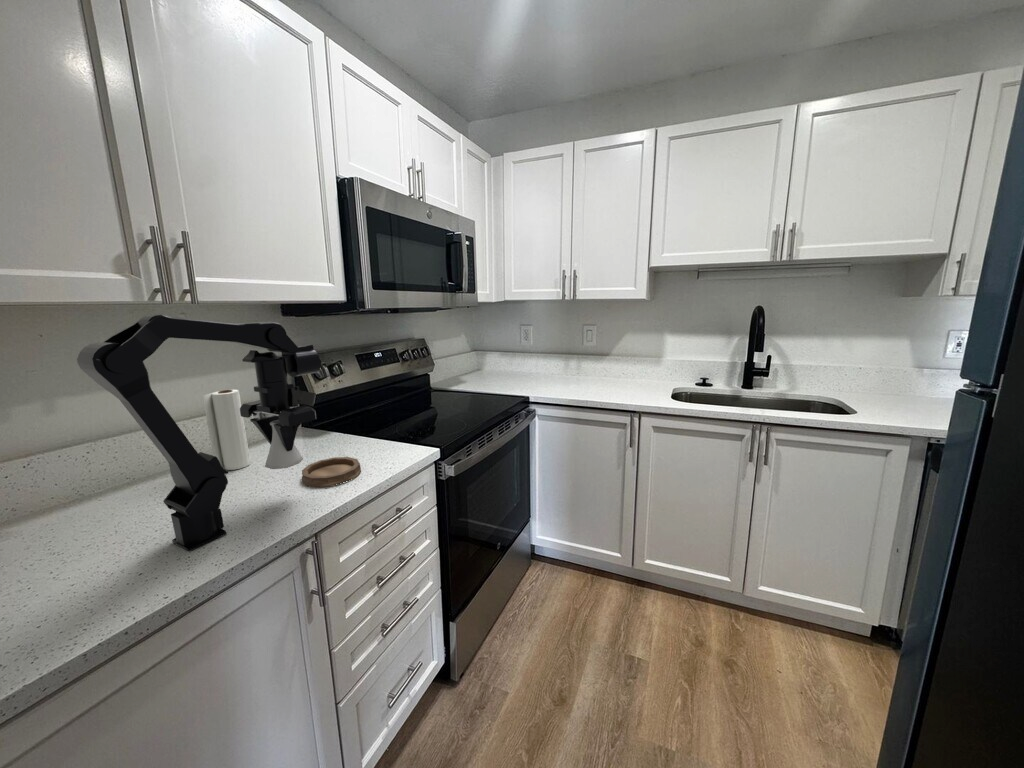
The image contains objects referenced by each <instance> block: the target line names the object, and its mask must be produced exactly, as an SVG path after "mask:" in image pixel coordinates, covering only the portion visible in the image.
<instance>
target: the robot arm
mask: <svg viewBox="0 0 1024 768" xmlns="http://www.w3.org/2000/svg"><path fill="white" fill-rule="evenodd" d="M168 339H182V340H197V341H211V342H212V341H213V342H214V341H215V342H229V343H233V344H237V345H239V346H244V347H248V348H251V349H253V350H251V349H250V350H249V352H248V353H247V354H245V356H244V357H242V362H243V363H252V364H254V369H255V375H256V380H257V383H256V384H257V385H256V386H255V385H254V386H253V391H254V392H255V393H258V395H259V400H254V401H250V402H245V403H242V404H241V407H240V414H241V417H243V418H246V419H249V418H251V416H252V417H253V418H251V419H249V420H250V423H253V425H254V426H255V427H256V428H257V430H258V431H259V432H260V433H261V434H262V436H263V437H264V438H265V440H266V441H267V442H268V443H269V444H270V446H271V442H272V433H273V431H272V425H270V422H272V421H275V420H279V421H280V423H277V424H274V427H275V429H276V431H277V433H278V435H279V437H280V439H281V441H282V443H283V446H284V447H285V449H286V451H291V450H292V449H293V445H295V440H296V437H297V432H298V429H299V427H300V426H301V425H302V424H304V423H309V422H312V421H314V420H317V412H316V409H314V408H313V407H314V404H315V399H316V392H310V391H304V390H300V387H299V386H298V385H297V386H296V385H294V383H290V382H289V378H288V375H289V376H290V377H292V378H294V377H300V376H305V375H311V374H316V373H319V372H320V371H321V368H322V359H321V358H320V355H319V354H318V352H317V351H316V350H314V345H313V344H302V345H299V346H298V345H297V344H296V343H295V342H294V340H292V339H291V338H290V337H289V336H288V334H287V331H286V329H285V328H284V327H283V325H282V324H280V323H278V322H274V321H253V322H240V323H239V322H237V323H230V322H221V321H212V320H211V321H210V320H200V319H193V318H181V317H173V316H169V315H168V316H167V315H165V314H146V315H144V316H142V317H141V318H140V319H139V320H137V321H136V322H135V323H133V324H132V325H131V324H130V325H129V326H128V327H125V328H124V329H123V330H120V331H118V332H117V333H115V334H113V335H111V336H110V337H108V338H107V339H105V340H103V342H102V341H101V342H100V341H98V342H93V343H89V344H88V345H86V346H84V347H83V348H82V349H81V350H80V351H79V353H78V356H77V358H76V361H77V362H76V363H77V364H78V366H79V367H78V368H79V369H81V371H83V372H84V373H85V374H86V375H87V376H88V377H90V379H92V380H93V381H94V382H95V383H97V384H98V385H99V386H100V387H102V388H103V389H105V390H106V391H107V392H108V393H110V395H111V394H112V395H113V396H114V397H116V398H117V400H119V401H120V403H121V404H122V405H123V406H124V407H125V409H126V411H128V413H129V414H130V415H131V417H132V418H133V419H134V420H135V422H136V423H137V424H138V426H139V427H140V428H141V429H142V431H144V433H145V434H146V435H147V437H148V438H149V440H150V441H151V442H152V443H153V444H154V446H155V447H156V449H158V451H159V453H161V455H162V456H163V457H164V459H165V460H166V461H167V463H168V466H169V472H170V477H171V479H172V481H173V482H174V486H173V487H172V489H171V491H170V492H169V493H168V494H167V495H166V497H165V498H164V499H163V504H164V505H165V506H166V507H167V508H168V509H169V510H172V511H175V512H172V513H171V514H170V516H171V521H172V522H171V523H172V526H173V530H174V531H173V532H174V537H175V538H173V539H172V540H171V541H172V543H173V544H174V545H176V546H179V547H180V548H182V549H184V550H185V551H189V552H190V551H193V550H194V549H197V548H199V547H202V546H203V545H206V544H207V543H210V542H212V541H214V540H217V539H218V538H221V537H222V536H224V535H227V530H225V529H224V527H225V525H224V518H223V513H222V508H221V502H222V498H223V494H224V492H225V490H226V488H227V486H228V484H229V480H228V477H227V474H229V470H226V469H225V468H222V466H221V464H220V462H219V460H218V458H217V457H216V456H213V454H209V453H206V452H202V451H200V452H198V451H197V450H196V449H195V447H194V446H193V445H192V443H191V442H190V440H189V439H188V438H187V436H186V435H185V433H184V432H183V431H182V430H181V428H180V427H179V425H178V424H177V422H176V421H175V420H174V419H173V417H172V415H171V414H170V413H169V412H168V411H167V409H166V408H165V406H164V405H163V403H162V402H161V401H160V399H159V398H158V396H157V395H156V394H155V392H154V391H153V390H152V387H151V382H150V376H149V372H148V369H147V367H146V365H145V363H144V361H145V360H146V359H148V358H150V357H151V356H152V355H153V354H154V353H155V352H156V351H157V350H158V349H159V348H160V346H161V345H162V344H163V343H164V342H165V341H167V340H168ZM254 349H257V350H254ZM258 350H266V352H259V351H258ZM276 353H281V354H276Z"/></svg>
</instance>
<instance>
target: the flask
mask: <svg viewBox="0 0 1024 768" xmlns="http://www.w3.org/2000/svg"><path fill="white" fill-rule="evenodd" d="M277 423H280V421H279V420H275V421H272V422H270V425H272V431H273V433H272V442H271V445H270V447H269V451H268V453H267V454H268V455H267V458H266V462H265V465H264V467H265V468H268V469H270V470H281V469H288V468H291V467H294V466H296V465H299V464H300V463H301V462H302V461H304V457H303V456H302V454H301V453H300V451H299V450H298V447H296V445H295V444H294V445H293V449H292V450H291V451H286V449H285V447H284V446H283V443H282V441H281V439H280V437H279V435H278V433H277V431H276V429H275V427H274V424H277Z"/></svg>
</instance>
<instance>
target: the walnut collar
mask: <svg viewBox="0 0 1024 768" xmlns="http://www.w3.org/2000/svg"><path fill="white" fill-rule="evenodd" d="M361 467H362V466H361V463H360V462H359V460H358V459H357V458H354V457H349V456H342V457H341V456H336V457H335V456H334V457H330V458H325V459H321V460H317V461H315V462H312V463H310V464H308V465H306V467H304V468H303V469H302V470H301V474H302V475H301V483H302V484H303V485H304V484H305V486H306V485H307V486H306V487H309V486H310V488H327V487H326V486H329V487H333V486H332V485H335V486H337V485H336V484H339V485H341V484H340V483H343V482H346V481H348V482H350V481H352V480H354V479H356V478H357V477H358V476H360V475H361V473H362V468H361ZM360 472H361V473H360ZM355 477H356V478H355ZM351 479H352V480H351ZM349 480H350V481H349ZM346 483H347V482H346ZM343 484H344V483H343Z"/></svg>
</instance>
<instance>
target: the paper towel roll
mask: <svg viewBox="0 0 1024 768" xmlns="http://www.w3.org/2000/svg"><path fill="white" fill-rule="evenodd" d="M202 400H203V405H204V406H203V407H204V412H205V417H206V424H207V428H208V434H209V440H210V444H211V445H210V446H211V451H212V456H216V457H217V458H218V460H219V462H220V464H221V466H222V468H223V469H224V470H226V471H230V470H231V471H233V470H240V469H243V468H246V467H247V466H249V465H250V464H251V458H250V451H249V445H248V440H247V433H246V427H245V420H244V417H241V414H240V407H241V406H242V403H241V402H242V401H241V395H240V390H239V389H225V390H219V391H214V392H210V393H207V394H203V395H202Z"/></svg>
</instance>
